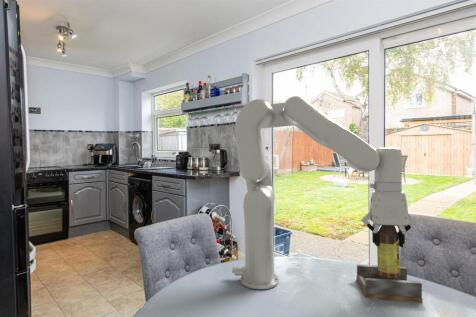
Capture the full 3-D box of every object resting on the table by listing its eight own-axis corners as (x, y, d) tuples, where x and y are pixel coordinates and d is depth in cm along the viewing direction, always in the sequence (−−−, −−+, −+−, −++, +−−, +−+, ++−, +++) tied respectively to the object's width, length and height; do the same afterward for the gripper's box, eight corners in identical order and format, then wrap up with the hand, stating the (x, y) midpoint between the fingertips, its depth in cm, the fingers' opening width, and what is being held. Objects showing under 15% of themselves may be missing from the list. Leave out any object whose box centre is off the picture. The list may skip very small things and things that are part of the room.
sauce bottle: (403, 280, 91) (402, 214, 90) (380, 279, 92) (380, 213, 92) (396, 272, 97) (395, 210, 97) (375, 271, 98) (374, 209, 98)
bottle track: (366, 298, 89) (366, 280, 89) (356, 279, 103) (356, 263, 103) (422, 302, 86) (422, 284, 86) (404, 282, 100) (404, 266, 100)
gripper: (361, 188, 92) (361, 248, 92) (423, 188, 89) (424, 250, 89) (355, 186, 99) (356, 241, 99) (413, 186, 96) (413, 243, 96)
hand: (388, 245), depth 94 cm, fingers closed on sauce bottle, 6 cm apart
